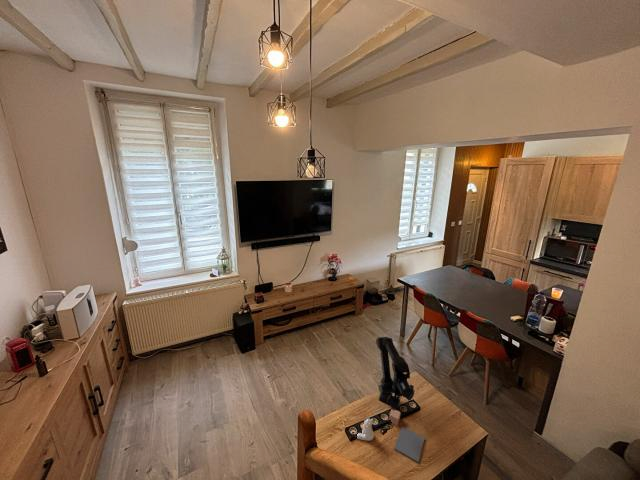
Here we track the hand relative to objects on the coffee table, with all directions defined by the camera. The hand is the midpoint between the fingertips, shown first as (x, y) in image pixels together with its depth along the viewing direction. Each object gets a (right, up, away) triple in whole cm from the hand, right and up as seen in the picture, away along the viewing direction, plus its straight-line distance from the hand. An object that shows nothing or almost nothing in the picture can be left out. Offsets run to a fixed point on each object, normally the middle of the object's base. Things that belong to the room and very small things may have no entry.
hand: (396, 403), depth 148 cm
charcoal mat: (+4, -15, -10) cm, 18 cm away
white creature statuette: (-18, -14, -5) cm, 23 cm away
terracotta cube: (0, -11, +3) cm, 12 cm away
